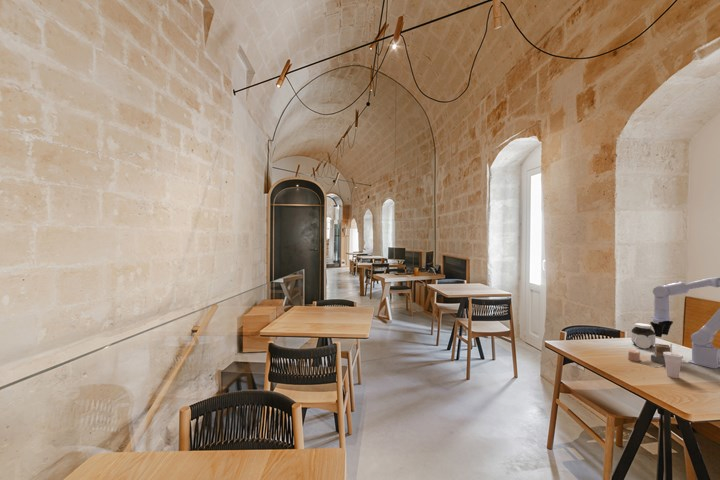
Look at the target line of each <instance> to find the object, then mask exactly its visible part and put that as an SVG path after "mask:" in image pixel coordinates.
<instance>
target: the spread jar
mask: <svg viewBox="0 0 720 480" xmlns="http://www.w3.org/2000/svg"><path fill="white" fill-rule="evenodd" d="M634 326H635V327H633V328H632V329H631V332H630V335H631V336H630V339H631V342H632V343H633V344H634V345H635V346H636V347H639V348H640V349H648V348H651V347H655V343H656V336H655V332H654V329H653V328H652V325H651V324H648V323H639V322H636V323H634Z"/></svg>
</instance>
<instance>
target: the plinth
mask: <svg viewBox="0 0 720 480" xmlns="http://www.w3.org/2000/svg"><path fill="white" fill-rule="evenodd" d="M650 361H652V362H656V363H660V364H664V365H663V366H666V365H665V358H663V357H656V355H655V353H653V354H651V355H650Z"/></svg>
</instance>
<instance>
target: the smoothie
mask: <svg viewBox="0 0 720 480" xmlns="http://www.w3.org/2000/svg"><path fill="white" fill-rule="evenodd" d="M669 347H670V352H663V355H664V358H665V365H664V366H665V370H666V376H667V377H670V378H674V379H678V378H680V372H681V366H682V359H684V356H683V354H680V353H677V352H673V344H672V343H670V345H669Z"/></svg>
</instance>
